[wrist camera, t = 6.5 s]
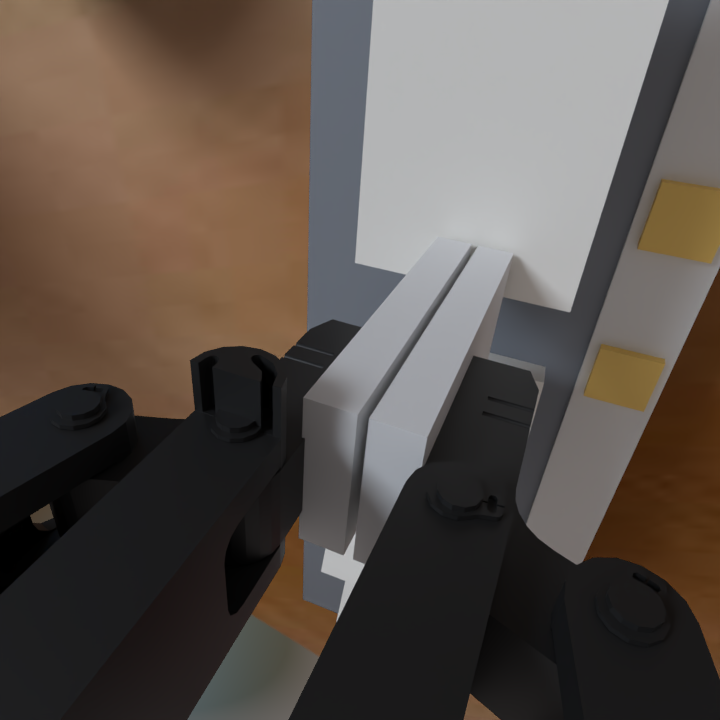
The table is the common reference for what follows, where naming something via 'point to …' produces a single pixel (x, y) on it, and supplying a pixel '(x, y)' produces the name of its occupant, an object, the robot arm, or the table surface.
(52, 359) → the table surface
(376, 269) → the switch unit
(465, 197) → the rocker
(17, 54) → the table surface
